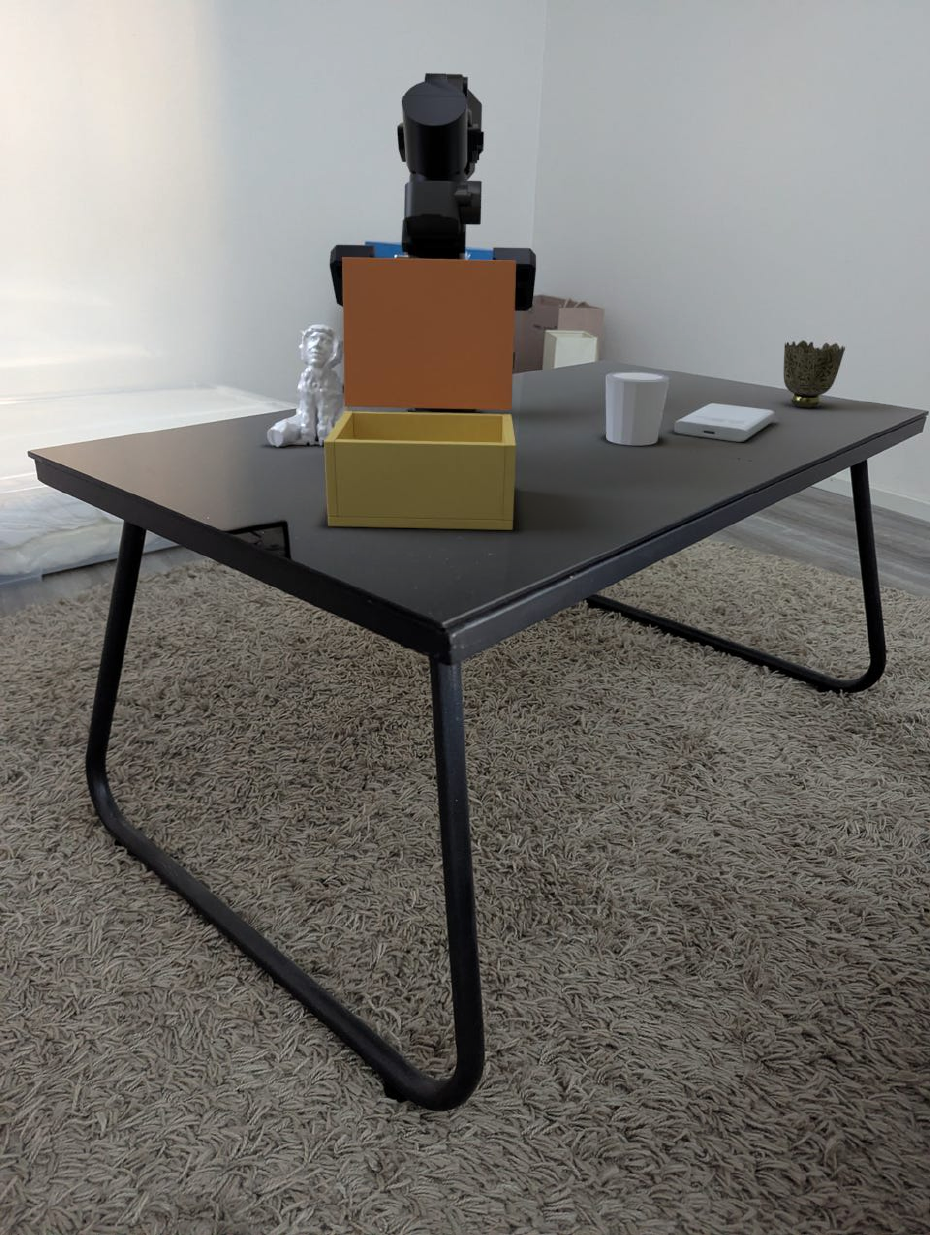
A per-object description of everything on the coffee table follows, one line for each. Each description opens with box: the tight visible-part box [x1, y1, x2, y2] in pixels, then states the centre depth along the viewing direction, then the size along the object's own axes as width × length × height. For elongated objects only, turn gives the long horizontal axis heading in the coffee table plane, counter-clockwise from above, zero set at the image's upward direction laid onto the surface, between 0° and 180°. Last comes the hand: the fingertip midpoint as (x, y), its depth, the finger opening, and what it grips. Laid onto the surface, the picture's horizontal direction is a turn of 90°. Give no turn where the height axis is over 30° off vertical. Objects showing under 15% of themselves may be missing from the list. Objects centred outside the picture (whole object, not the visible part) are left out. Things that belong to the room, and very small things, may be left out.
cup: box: [783, 339, 846, 409], centre depth 118 cm, size 8×7×8 cm
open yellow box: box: [323, 410, 517, 531], centre depth 75 cm, size 12×15×7 cm
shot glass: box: [605, 370, 671, 446], centre depth 99 cm, size 7×7×7 cm
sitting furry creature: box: [266, 323, 350, 448], centre depth 95 cm, size 10×9×12 cm
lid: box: [342, 257, 516, 411], centre depth 77 cm, size 12×15×1 cm
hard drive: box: [673, 402, 775, 443], centre depth 106 cm, size 2×8×12 cm
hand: (430, 352), depth 81 cm, fingers closed
